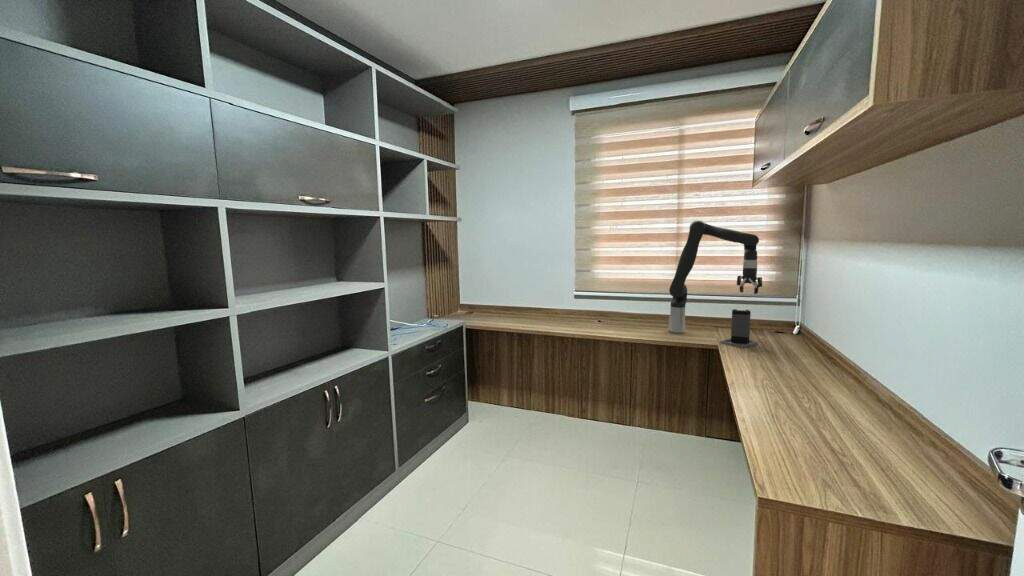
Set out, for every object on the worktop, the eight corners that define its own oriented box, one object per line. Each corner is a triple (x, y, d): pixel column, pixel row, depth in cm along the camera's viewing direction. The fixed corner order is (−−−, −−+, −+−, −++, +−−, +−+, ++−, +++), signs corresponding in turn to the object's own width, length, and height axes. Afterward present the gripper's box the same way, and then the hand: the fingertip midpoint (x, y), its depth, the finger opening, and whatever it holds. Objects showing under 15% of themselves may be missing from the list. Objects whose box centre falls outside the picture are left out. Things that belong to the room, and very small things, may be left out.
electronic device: (748, 343, 234) (750, 310, 232) (749, 345, 229) (750, 311, 226) (730, 341, 238) (732, 309, 236) (730, 343, 233) (732, 310, 231)
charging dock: (720, 343, 236) (720, 340, 235) (735, 339, 243) (736, 337, 243) (741, 348, 224) (741, 345, 224) (757, 343, 232) (757, 341, 232)
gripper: (735, 266, 247) (733, 292, 249) (758, 268, 235) (757, 294, 237) (742, 266, 251) (740, 291, 253) (765, 267, 239) (764, 293, 241)
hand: (748, 293), depth 245 cm, fingers open, 8 cm apart
